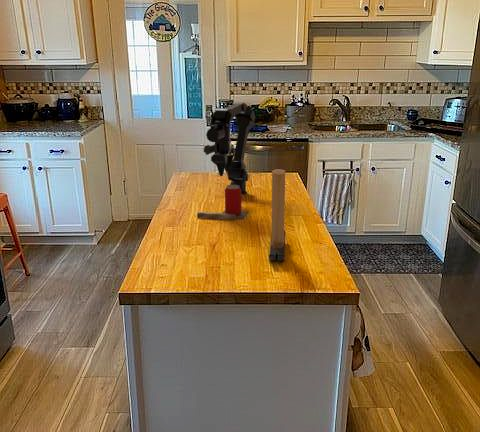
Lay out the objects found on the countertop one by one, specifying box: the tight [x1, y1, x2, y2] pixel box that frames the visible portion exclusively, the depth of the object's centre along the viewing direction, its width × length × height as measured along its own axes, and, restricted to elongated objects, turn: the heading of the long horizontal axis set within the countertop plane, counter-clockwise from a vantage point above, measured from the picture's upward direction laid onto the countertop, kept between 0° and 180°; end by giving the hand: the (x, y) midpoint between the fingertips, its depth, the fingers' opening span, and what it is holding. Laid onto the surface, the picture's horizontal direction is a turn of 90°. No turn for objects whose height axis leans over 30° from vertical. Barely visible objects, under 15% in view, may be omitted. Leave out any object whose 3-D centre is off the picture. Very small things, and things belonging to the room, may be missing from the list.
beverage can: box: [224, 184, 242, 216], centre depth 195 cm, size 7×7×12 cm
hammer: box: [268, 168, 286, 262], centre depth 154 cm, size 20×5×30 cm, turn 174°
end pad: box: [222, 209, 249, 220], centre depth 198 cm, size 10×9×1 cm
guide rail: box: [196, 211, 237, 221], centre depth 193 cm, size 16×2×2 cm, turn 77°
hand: (223, 173), depth 211 cm, fingers open, 9 cm apart
